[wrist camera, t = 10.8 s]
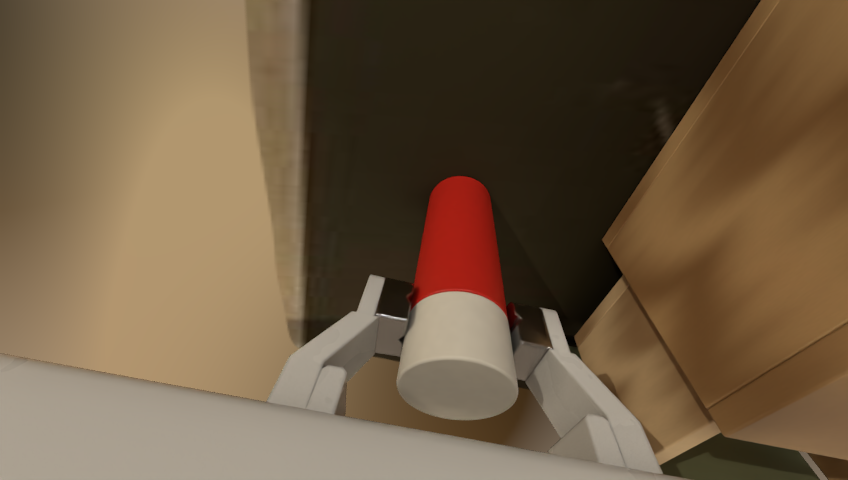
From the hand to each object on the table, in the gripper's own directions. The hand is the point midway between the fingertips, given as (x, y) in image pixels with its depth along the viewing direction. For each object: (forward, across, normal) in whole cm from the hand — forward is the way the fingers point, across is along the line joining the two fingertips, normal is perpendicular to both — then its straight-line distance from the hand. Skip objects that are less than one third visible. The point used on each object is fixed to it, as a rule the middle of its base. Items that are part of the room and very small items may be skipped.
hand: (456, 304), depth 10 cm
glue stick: (+7, 0, 0) cm, 7 cm away
